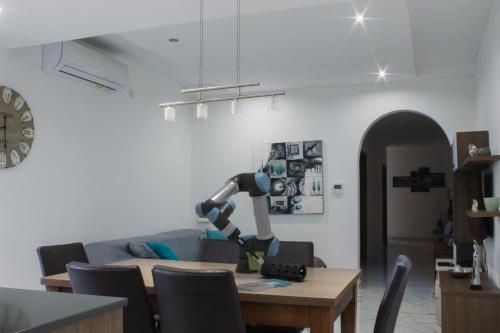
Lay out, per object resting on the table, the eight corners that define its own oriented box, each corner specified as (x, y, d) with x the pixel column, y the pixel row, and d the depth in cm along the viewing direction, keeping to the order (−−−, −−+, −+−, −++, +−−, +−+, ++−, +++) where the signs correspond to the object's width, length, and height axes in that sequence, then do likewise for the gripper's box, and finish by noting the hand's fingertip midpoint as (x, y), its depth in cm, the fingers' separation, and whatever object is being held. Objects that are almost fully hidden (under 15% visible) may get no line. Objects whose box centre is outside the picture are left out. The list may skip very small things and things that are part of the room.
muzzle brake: (298, 283, 279) (298, 264, 279) (257, 278, 295) (256, 260, 295) (307, 280, 286) (307, 262, 287) (265, 276, 302) (265, 259, 303)
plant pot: (268, 269, 265) (267, 252, 266) (254, 271, 259) (254, 254, 260) (256, 267, 272) (255, 251, 273) (242, 269, 266) (242, 252, 267)
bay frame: (234, 286, 267) (234, 284, 267) (270, 281, 285) (270, 278, 285) (257, 291, 254) (257, 288, 254) (293, 285, 271) (293, 282, 271)
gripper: (224, 235, 276) (253, 264, 277) (227, 239, 254) (259, 270, 255) (234, 225, 276) (263, 254, 278) (238, 228, 255) (269, 259, 256)
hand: (261, 261), depth 266 cm, fingers closed on plant pot, 9 cm apart
